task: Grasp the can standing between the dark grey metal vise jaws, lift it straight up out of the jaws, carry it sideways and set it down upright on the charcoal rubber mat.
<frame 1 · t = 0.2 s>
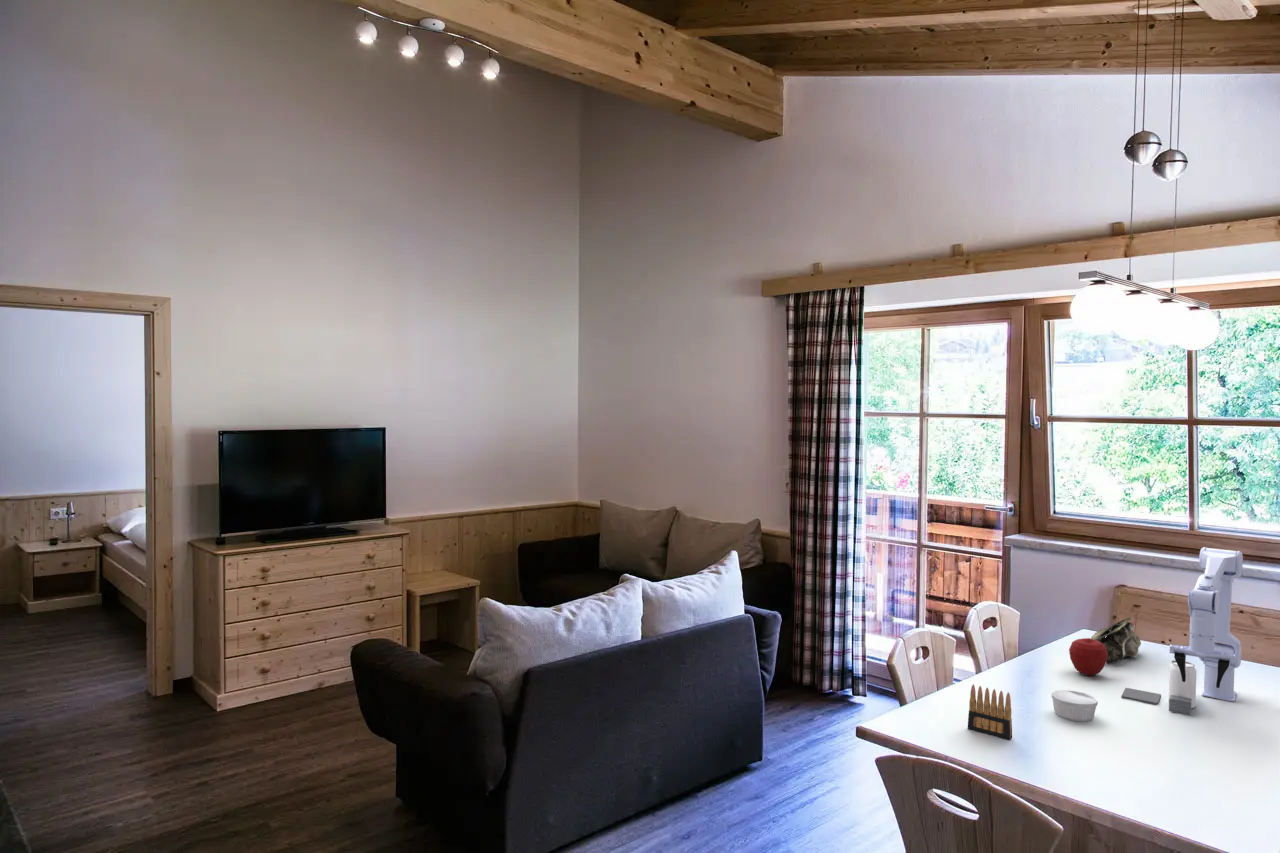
hand: (1200, 683, 225), 10 cm above the table, tool pointing down, fingers open, 7 cm apart
apple: (1087, 674, 264), on the table
ramekin: (1073, 716, 229), on the table
can: (1181, 705, 238), on the table
hollow geode rock: (1111, 657, 282), on the table
vise: (1181, 704, 238), on the table
mat: (1141, 697, 244), on the table
ammunition clip: (989, 734, 216), on the table
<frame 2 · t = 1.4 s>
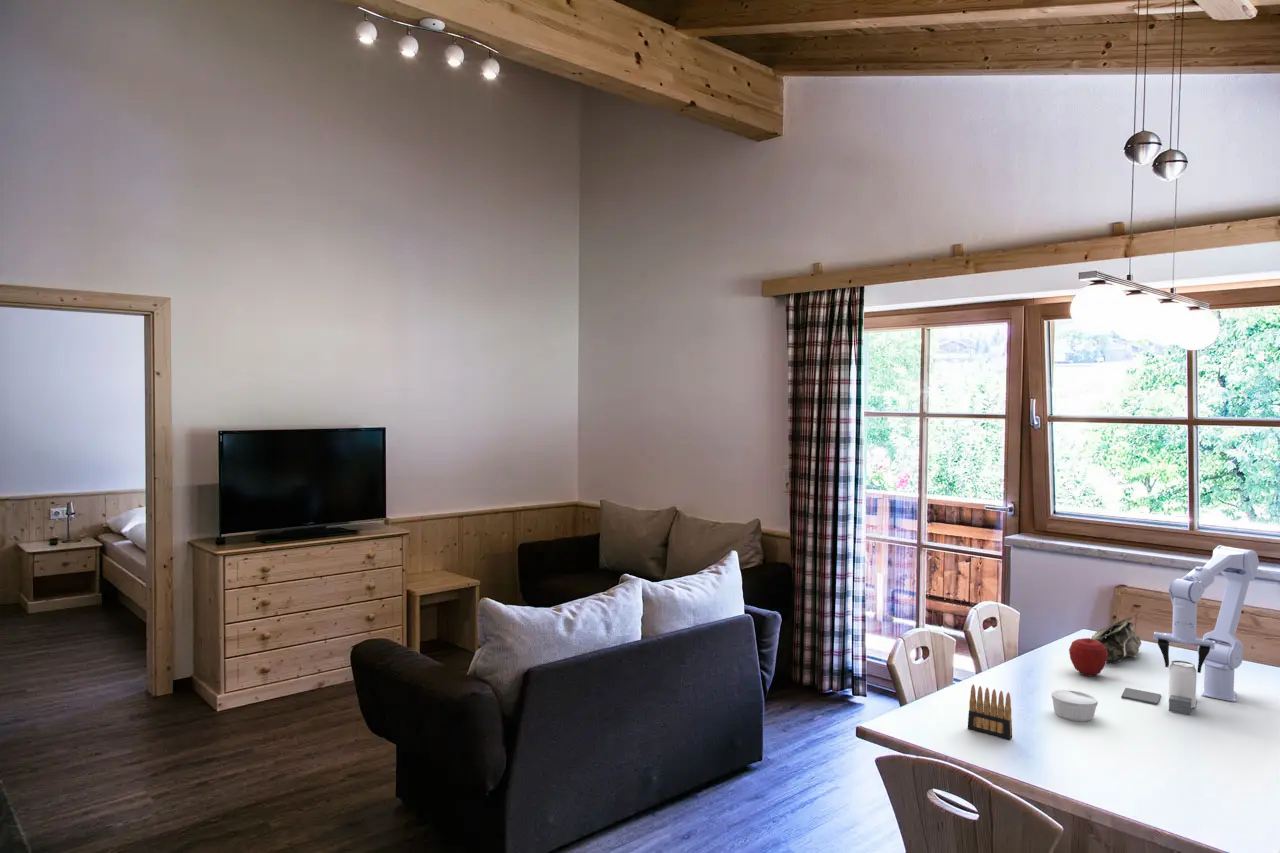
hand: (1182, 669, 237), 10 cm above the table, tool pointing down, fingers open, 7 cm apart
nothing on the table moved.
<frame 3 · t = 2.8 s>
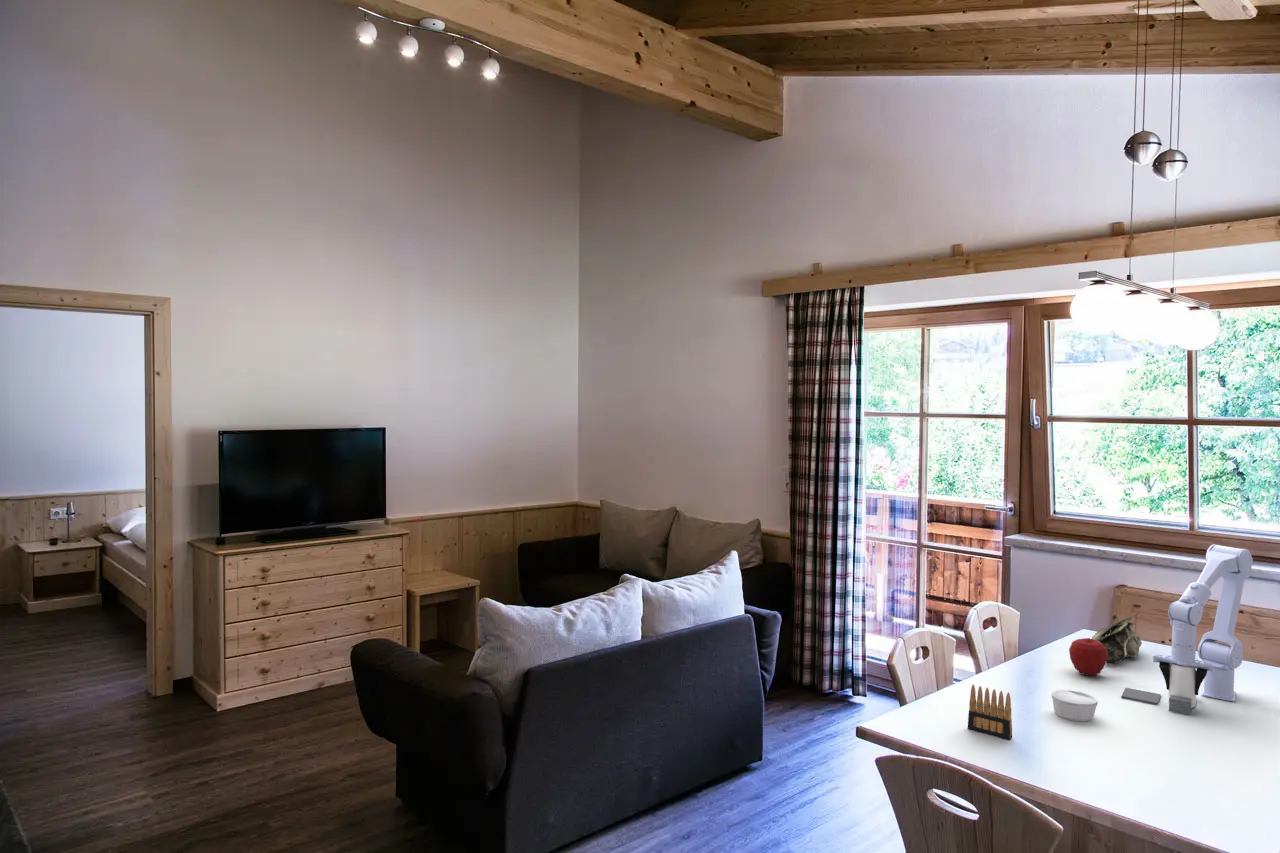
hand: (1182, 691, 237), 4 cm above the table, tool pointing down, fingers open, 6 cm apart
can: (1181, 705, 238), on the table, touching gripper
everything else where it was.
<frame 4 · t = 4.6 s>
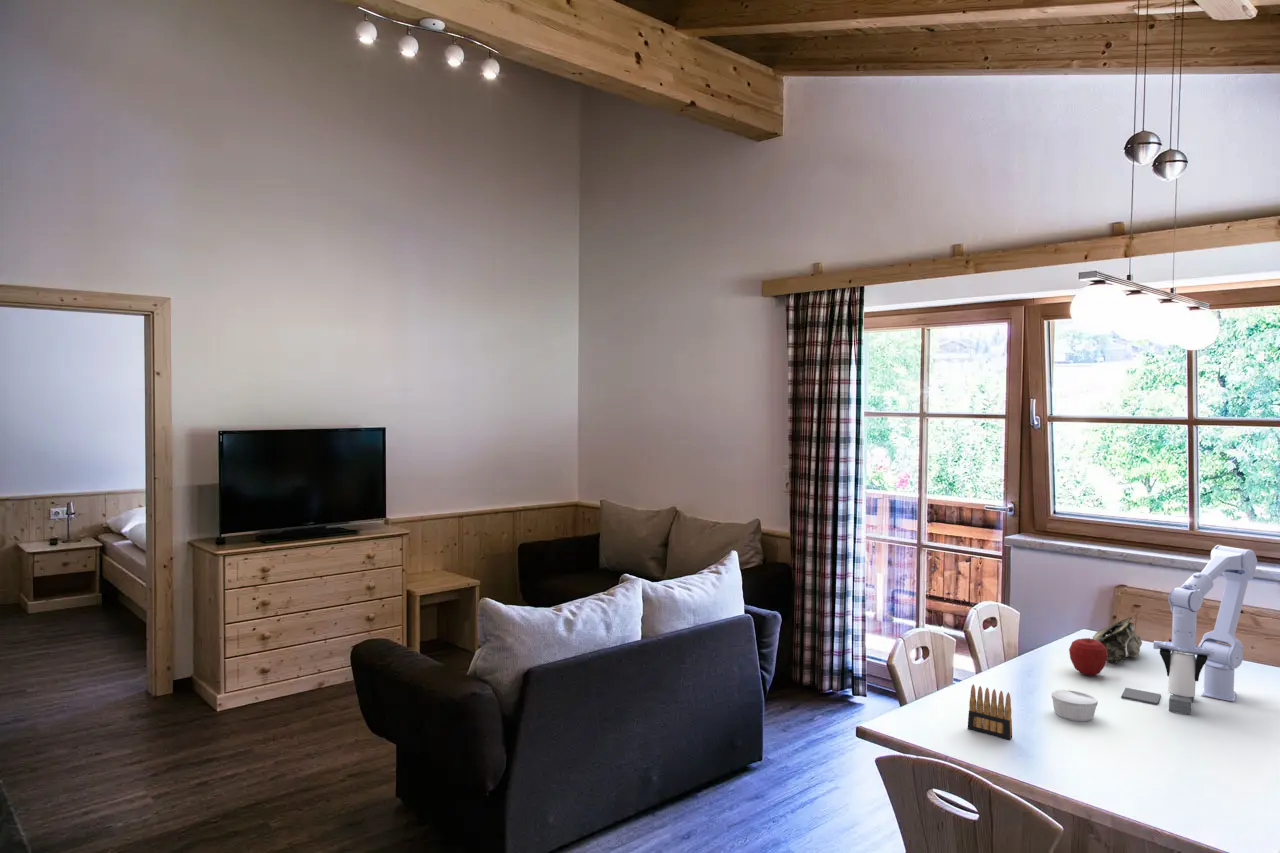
hand: (1182, 677, 237), 8 cm above the table, tool pointing down, fingers closed on can, 6 cm apart
can: (1181, 695, 237), point 3 cm above the table, touching gripper
everything else where it was.
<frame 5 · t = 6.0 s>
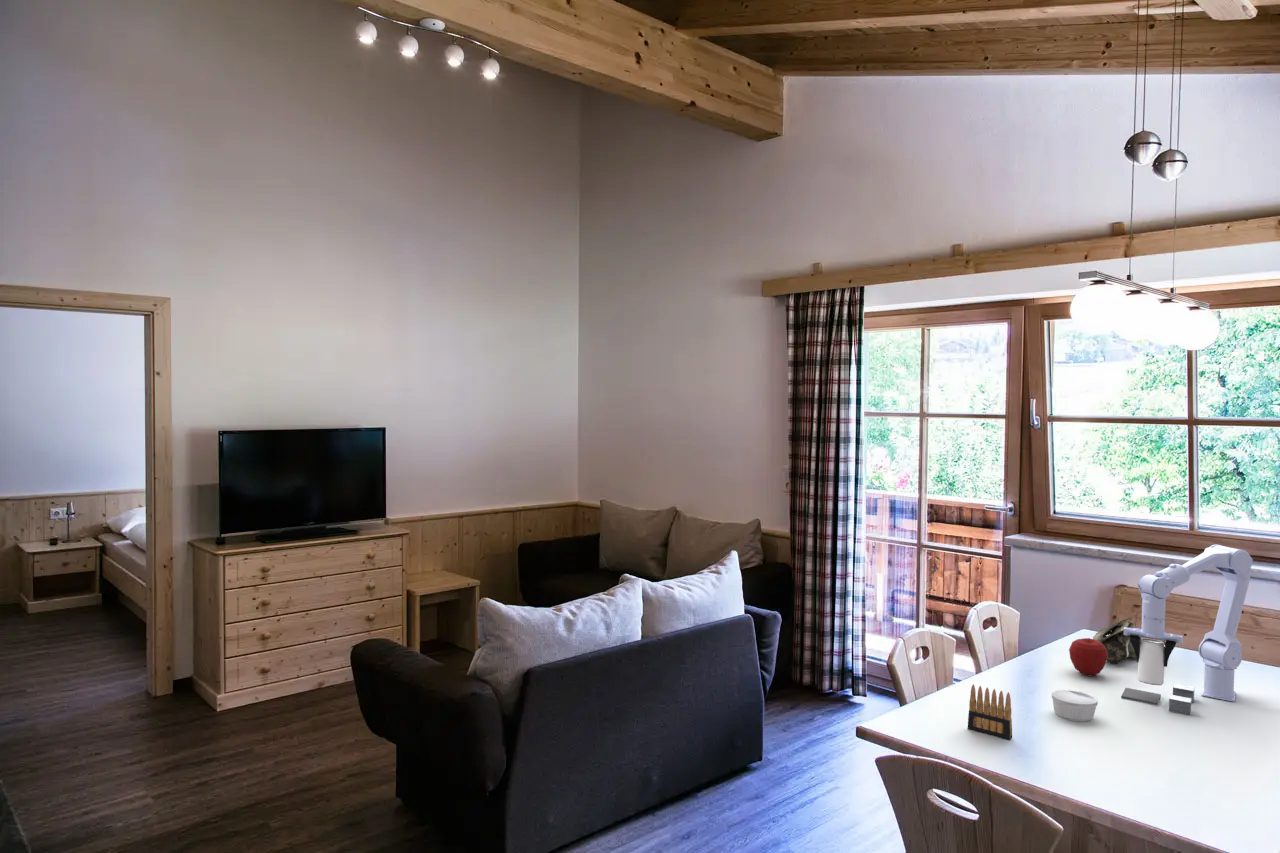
hand: (1151, 663, 242), 10 cm above the table, tool pointing down, fingers closed on can, 6 cm apart
can: (1150, 683, 241), point 5 cm above the table, touching gripper
everything else where it was.
when the fingers open (6 cm above the table, at t = 8.2 s): can stays where it is, resting on mat.
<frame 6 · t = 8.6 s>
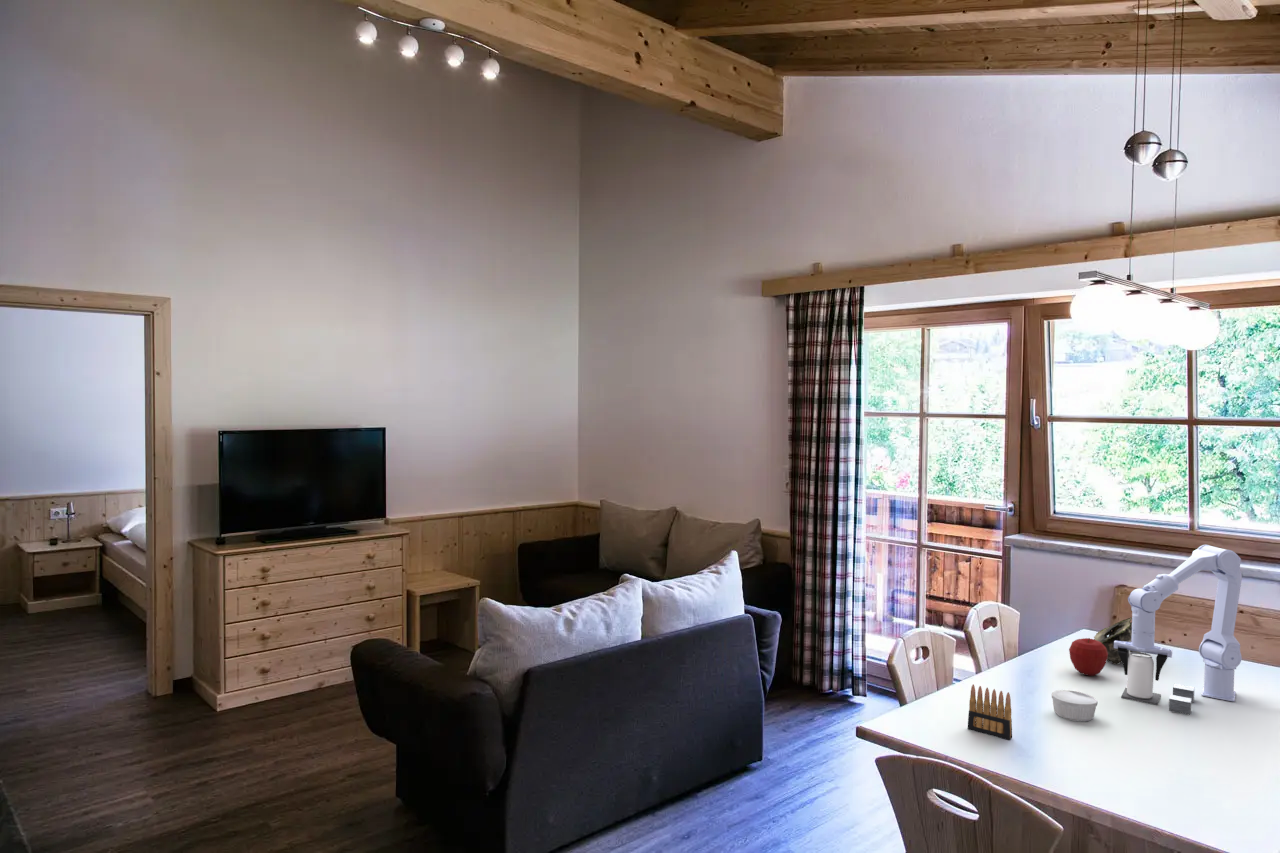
hand: (1141, 676, 243), 6 cm above the table, tool pointing down, fingers open, 7 cm apart
can: (1139, 696, 243), resting on mat
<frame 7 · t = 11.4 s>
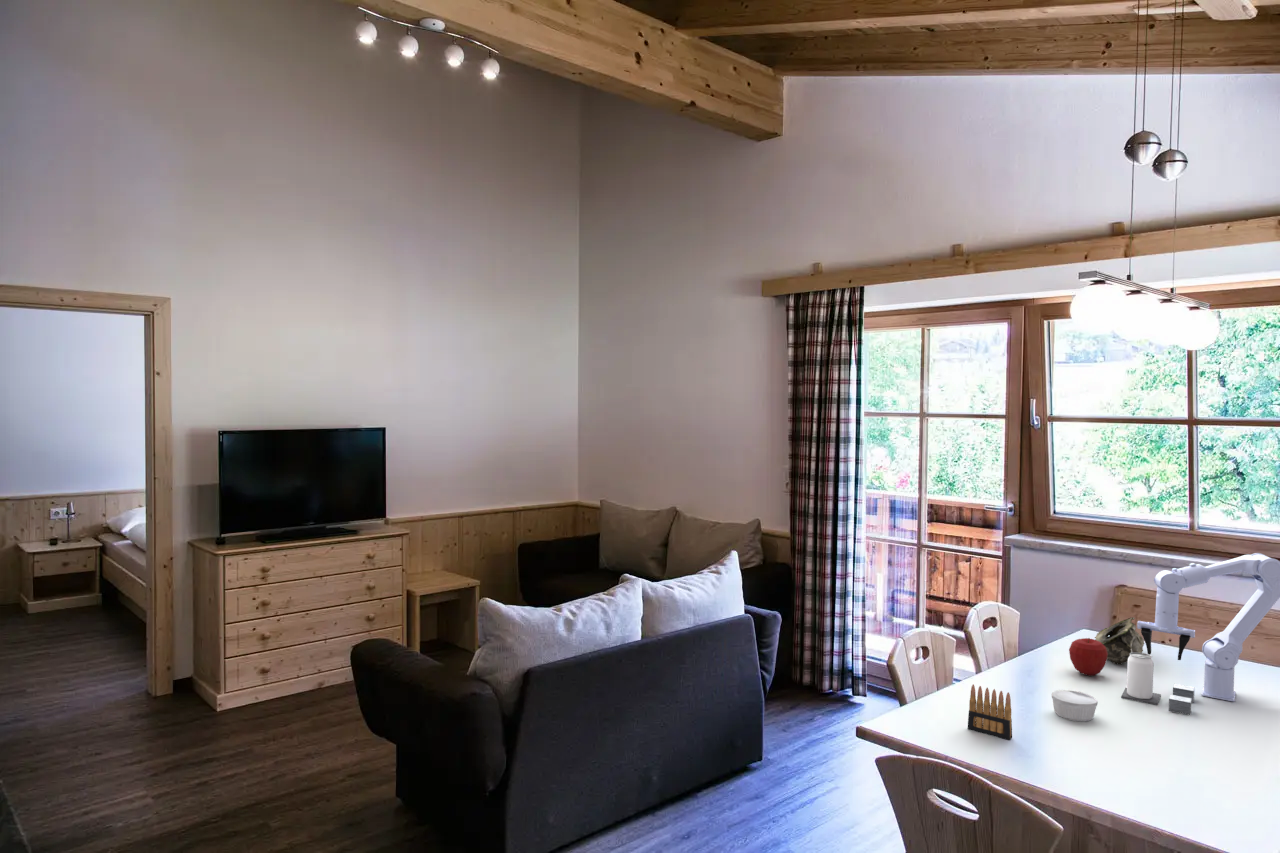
hand: (1164, 656, 249), 10 cm above the table, tool pointing down, fingers open, 7 cm apart
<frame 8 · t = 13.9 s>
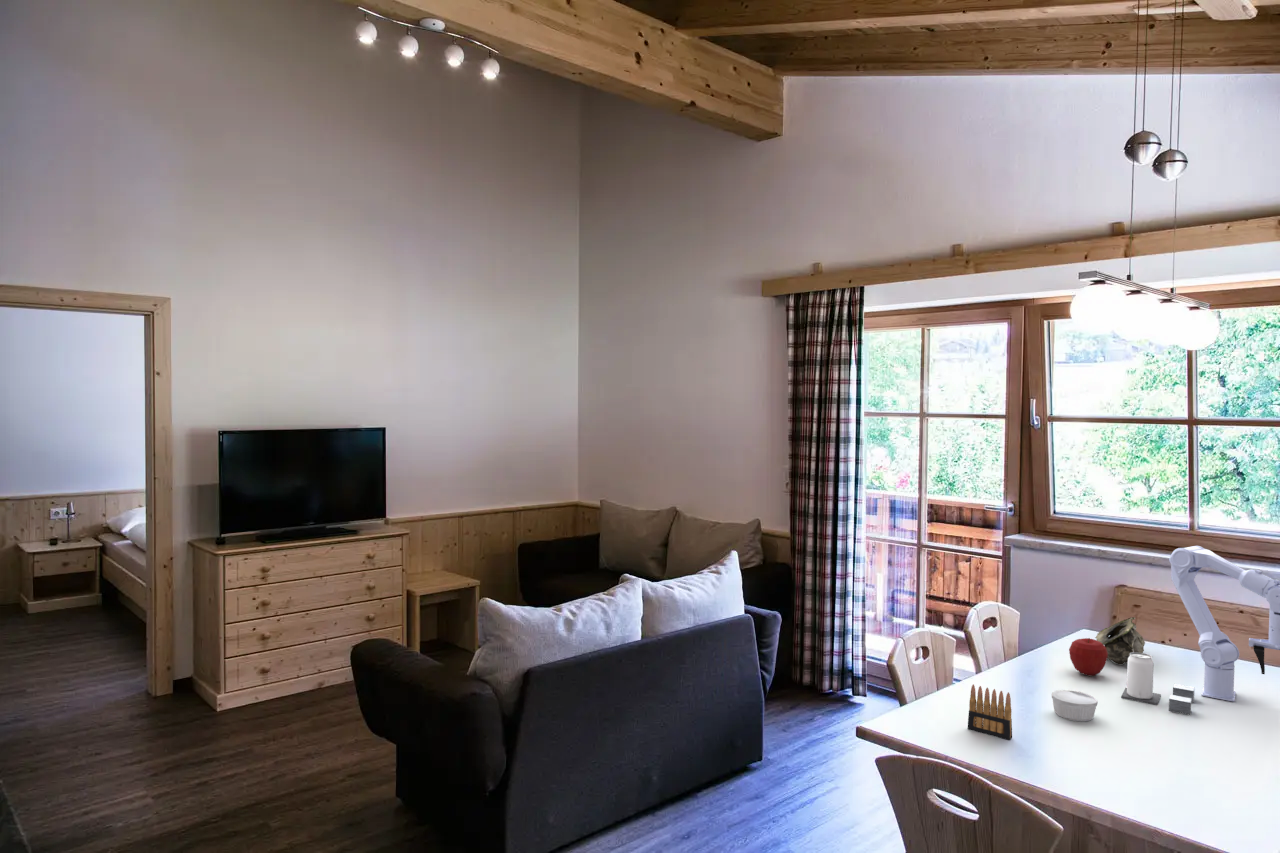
at the end: can inside the target area on the mat (1.1 cm from its centre), point 0.4 cm above the mat's base; can tilted 0°; the gripper is holding nothing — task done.
